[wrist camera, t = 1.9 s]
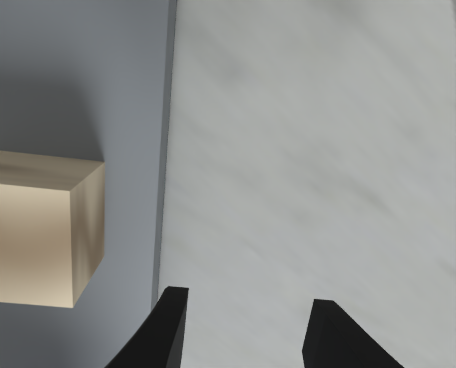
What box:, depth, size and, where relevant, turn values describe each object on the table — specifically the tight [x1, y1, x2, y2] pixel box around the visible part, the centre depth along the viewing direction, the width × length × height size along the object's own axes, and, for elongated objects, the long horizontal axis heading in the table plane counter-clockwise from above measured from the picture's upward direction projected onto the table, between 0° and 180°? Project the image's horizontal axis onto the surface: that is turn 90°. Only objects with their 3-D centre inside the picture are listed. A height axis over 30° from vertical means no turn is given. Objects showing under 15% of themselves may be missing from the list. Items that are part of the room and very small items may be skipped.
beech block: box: [0, 151, 105, 308], centre depth 15 cm, size 5×5×4 cm
